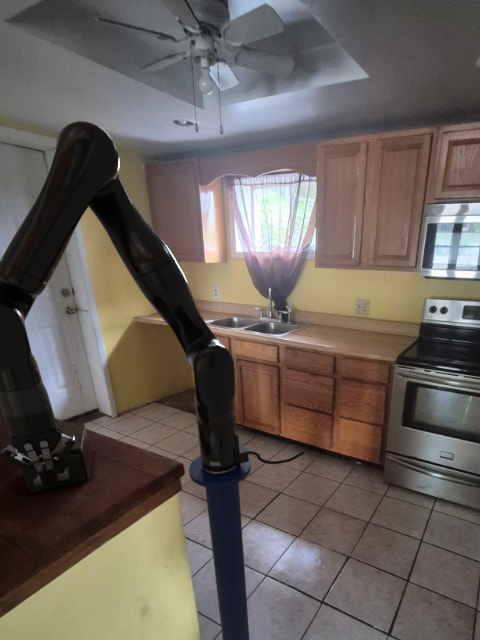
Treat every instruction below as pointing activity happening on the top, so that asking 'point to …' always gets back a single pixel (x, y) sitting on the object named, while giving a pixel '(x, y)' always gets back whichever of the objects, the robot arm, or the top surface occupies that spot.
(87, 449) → the cabinet
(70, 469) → the drawer
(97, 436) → the top surface
